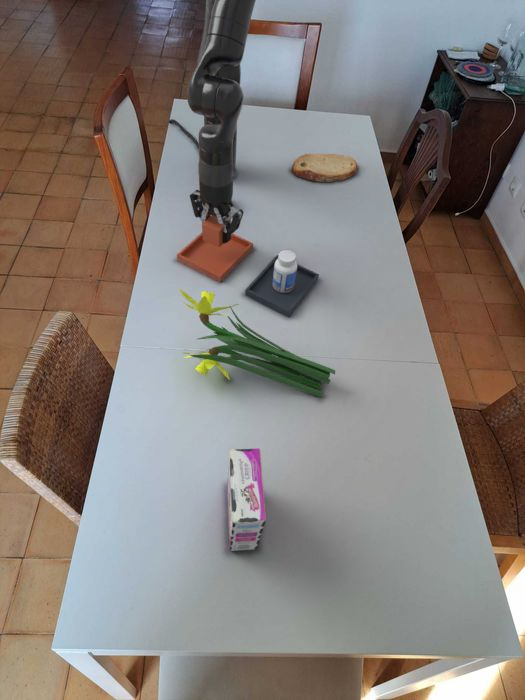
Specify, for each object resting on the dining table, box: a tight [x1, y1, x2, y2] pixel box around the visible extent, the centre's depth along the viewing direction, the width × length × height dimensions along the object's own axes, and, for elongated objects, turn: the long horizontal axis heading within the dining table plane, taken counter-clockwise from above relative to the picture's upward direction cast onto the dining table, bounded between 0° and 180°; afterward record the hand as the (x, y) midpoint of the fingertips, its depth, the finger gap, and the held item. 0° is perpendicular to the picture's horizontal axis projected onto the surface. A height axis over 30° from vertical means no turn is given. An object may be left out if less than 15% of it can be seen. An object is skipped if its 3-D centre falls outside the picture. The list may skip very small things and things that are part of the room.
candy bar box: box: [226, 447, 267, 552], centre depth 72 cm, size 11×5×16 cm, turn 5°
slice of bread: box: [290, 153, 358, 183], centre depth 144 cm, size 18×18×4 cm
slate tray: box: [244, 254, 320, 318], centre depth 112 cm, size 12×15×2 cm
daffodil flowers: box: [178, 287, 336, 398], centre depth 92 cm, size 17×15×35 cm
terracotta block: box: [201, 215, 227, 247], centre depth 111 cm, size 5×5×5 cm
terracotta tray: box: [176, 232, 254, 283], centre depth 117 cm, size 13×15×2 cm
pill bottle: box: [273, 249, 298, 293], centre depth 108 cm, size 6×5×10 cm
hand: (216, 237), depth 113 cm, fingers closed on terracotta block, 5 cm apart
